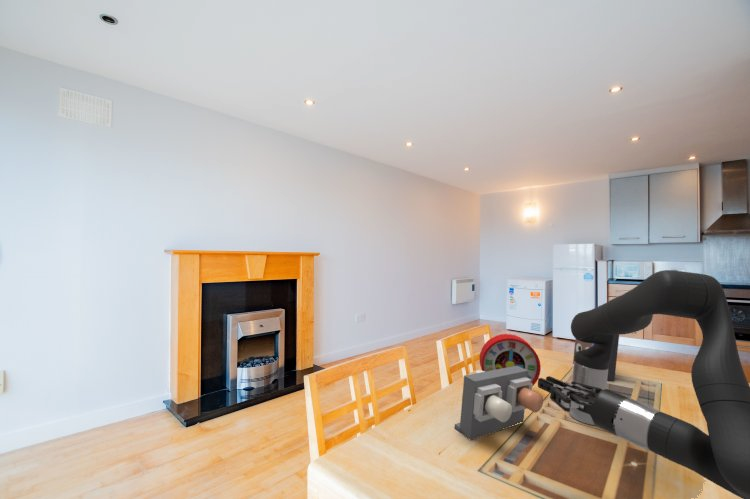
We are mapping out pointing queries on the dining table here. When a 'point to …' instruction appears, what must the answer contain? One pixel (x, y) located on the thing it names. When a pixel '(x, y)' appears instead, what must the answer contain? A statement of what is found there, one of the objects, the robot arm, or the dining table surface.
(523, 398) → the terracotta button
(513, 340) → the toy clock
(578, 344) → the cereal box
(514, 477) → the dining table surface
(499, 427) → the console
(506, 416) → the cream button
